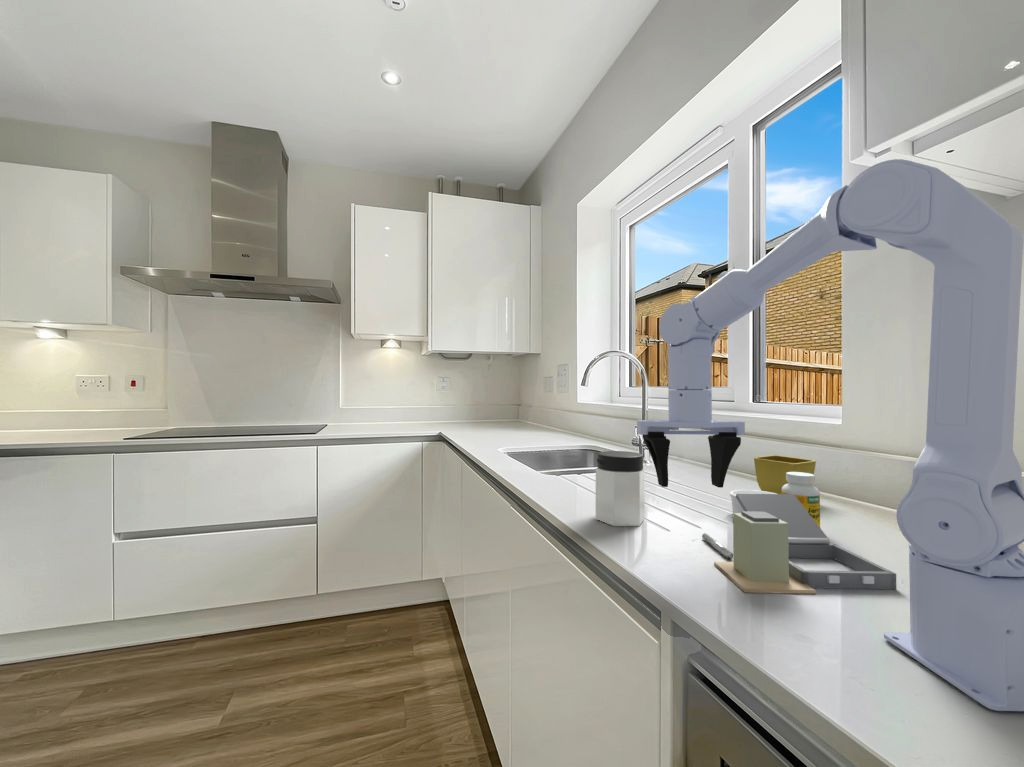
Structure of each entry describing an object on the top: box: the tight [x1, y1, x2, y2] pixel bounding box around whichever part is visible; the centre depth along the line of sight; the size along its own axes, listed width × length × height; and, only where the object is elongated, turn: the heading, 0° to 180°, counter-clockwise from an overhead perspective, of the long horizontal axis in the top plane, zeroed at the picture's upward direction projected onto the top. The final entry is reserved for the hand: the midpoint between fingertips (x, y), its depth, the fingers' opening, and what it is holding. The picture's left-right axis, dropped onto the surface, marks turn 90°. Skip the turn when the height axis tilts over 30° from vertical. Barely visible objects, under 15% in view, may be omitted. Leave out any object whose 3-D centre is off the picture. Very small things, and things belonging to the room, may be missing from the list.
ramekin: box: [729, 489, 776, 514], centre depth 80 cm, size 9×9×4 cm
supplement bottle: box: [782, 472, 821, 528], centre depth 72 cm, size 5×5×10 cm
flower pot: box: [753, 454, 817, 494], centre depth 93 cm, size 9×9×9 cm
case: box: [789, 543, 897, 590], centre depth 56 cm, size 10×11×2 cm
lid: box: [736, 494, 831, 544], centre depth 65 cm, size 8×9×7 cm
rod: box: [701, 532, 734, 560], centre depth 63 cm, size 8×1×1 cm, turn 178°
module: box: [732, 511, 790, 582], centre depth 54 cm, size 4×4×7 cm
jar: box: [595, 450, 645, 527], centre depth 78 cm, size 9×8×12 cm
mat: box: [713, 561, 817, 595], centre depth 53 cm, size 8×8×1 cm
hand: (690, 485), depth 61 cm, fingers open, 7 cm apart
